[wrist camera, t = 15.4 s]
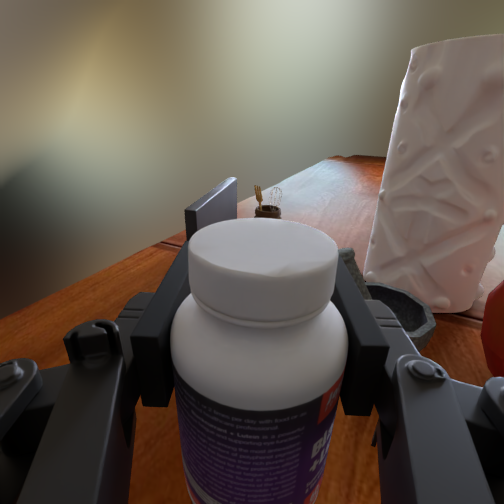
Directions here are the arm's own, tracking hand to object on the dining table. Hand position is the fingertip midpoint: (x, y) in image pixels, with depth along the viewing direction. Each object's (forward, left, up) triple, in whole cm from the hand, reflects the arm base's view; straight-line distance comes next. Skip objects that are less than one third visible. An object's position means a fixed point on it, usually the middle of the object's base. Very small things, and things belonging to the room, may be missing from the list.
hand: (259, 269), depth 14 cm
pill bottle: (-3, -4, -6) cm, 8 cm away
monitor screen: (+7, +22, -13) cm, 27 cm away
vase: (+37, +13, -18) cm, 43 cm away
